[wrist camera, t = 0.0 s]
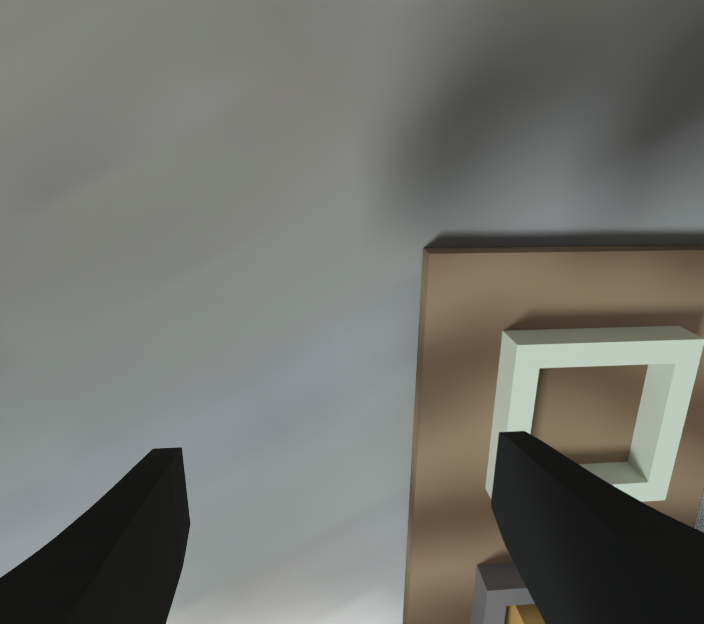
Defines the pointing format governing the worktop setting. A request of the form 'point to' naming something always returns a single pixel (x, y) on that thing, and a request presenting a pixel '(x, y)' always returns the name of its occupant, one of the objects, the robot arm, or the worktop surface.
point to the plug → (523, 615)
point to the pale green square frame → (606, 350)
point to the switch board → (551, 395)
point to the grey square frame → (497, 592)
